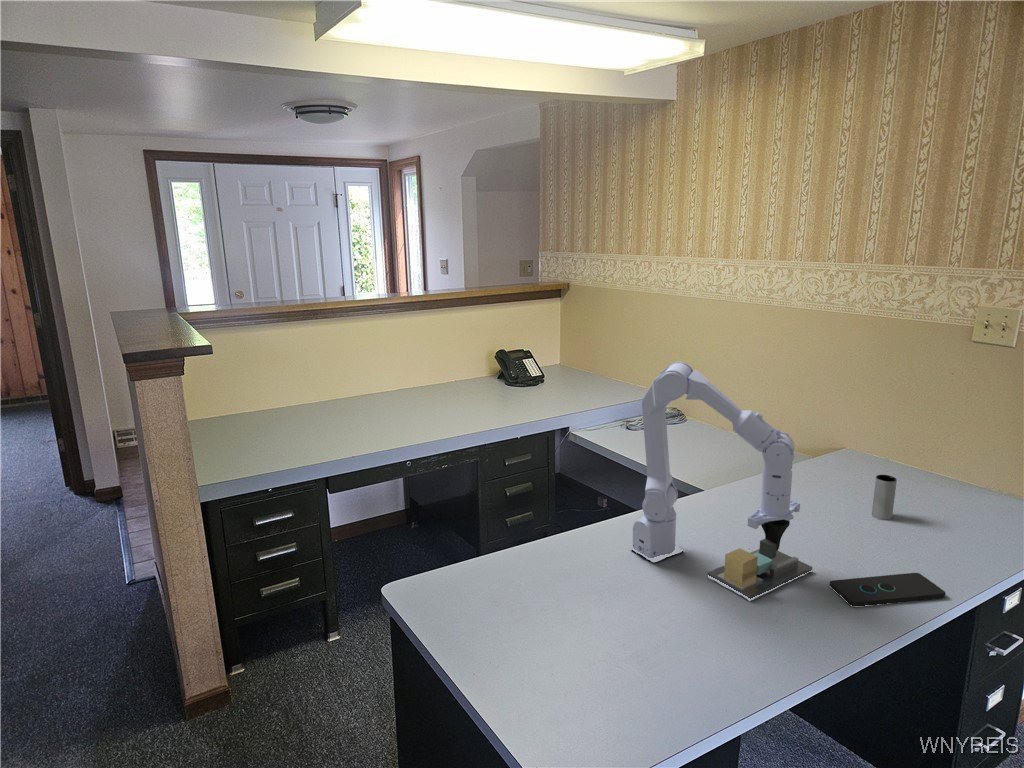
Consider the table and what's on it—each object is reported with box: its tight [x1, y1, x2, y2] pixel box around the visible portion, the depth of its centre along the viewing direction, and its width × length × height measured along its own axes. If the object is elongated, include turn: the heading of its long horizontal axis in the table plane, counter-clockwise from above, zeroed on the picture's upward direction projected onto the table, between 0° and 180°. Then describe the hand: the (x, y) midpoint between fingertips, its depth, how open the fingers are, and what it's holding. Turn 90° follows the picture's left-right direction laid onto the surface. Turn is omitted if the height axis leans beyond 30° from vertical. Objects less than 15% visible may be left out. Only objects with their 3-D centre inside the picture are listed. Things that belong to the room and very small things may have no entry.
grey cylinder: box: [871, 474, 897, 521], centre depth 163 cm, size 4×4×10 cm
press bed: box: [707, 548, 813, 599], centre depth 139 cm, size 20×11×3 cm, turn 122°
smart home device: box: [829, 572, 946, 607], centre depth 132 cm, size 8×2×20 cm
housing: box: [724, 548, 758, 585], centre depth 135 cm, size 4×4×5 cm
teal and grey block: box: [753, 538, 777, 575], centre depth 138 cm, size 6×4×5 cm, turn 122°
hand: (771, 549), depth 140 cm, fingers closed, pressing on teal and grey block
